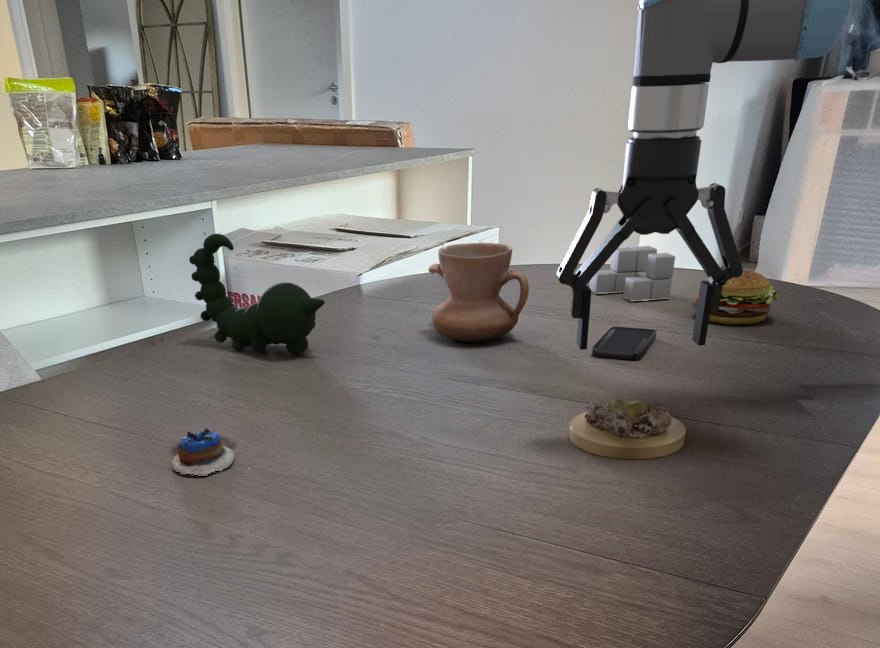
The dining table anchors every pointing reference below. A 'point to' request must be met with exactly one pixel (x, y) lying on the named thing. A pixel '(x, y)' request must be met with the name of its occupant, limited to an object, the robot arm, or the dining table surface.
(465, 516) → the dining table surface
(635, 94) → the robot arm
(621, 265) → the puzzle cube
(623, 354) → the phone
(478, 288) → the ceramic jug
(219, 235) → the toy figurine
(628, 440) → the wood disc
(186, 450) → the dessert
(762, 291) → the food
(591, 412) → the mineral rock
